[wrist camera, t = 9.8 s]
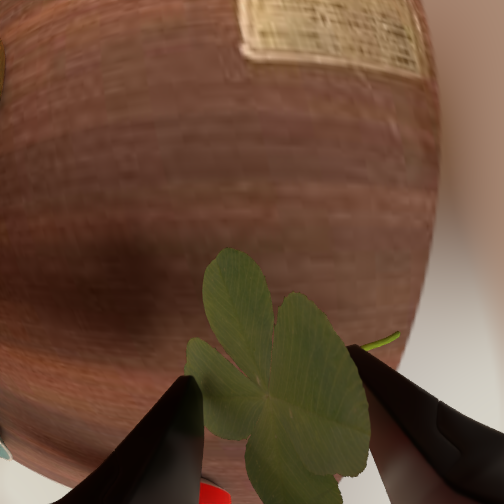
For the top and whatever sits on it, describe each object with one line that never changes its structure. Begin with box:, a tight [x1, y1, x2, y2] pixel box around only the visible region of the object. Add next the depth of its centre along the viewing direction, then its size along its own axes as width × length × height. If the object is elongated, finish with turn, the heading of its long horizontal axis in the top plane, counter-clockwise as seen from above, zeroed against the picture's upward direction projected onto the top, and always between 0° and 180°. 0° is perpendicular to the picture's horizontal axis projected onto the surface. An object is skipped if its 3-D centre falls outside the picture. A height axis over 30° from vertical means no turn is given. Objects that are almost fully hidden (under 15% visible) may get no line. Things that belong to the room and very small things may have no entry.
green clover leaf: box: [184, 247, 400, 504], centre depth 7 cm, size 7×8×7 cm
